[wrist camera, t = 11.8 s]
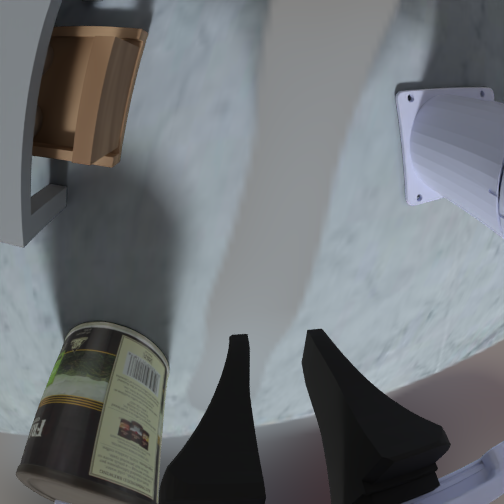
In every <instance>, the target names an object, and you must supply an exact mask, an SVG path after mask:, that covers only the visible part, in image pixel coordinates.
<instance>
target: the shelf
mask: <svg viewBox="0 0 504 504" xmlns="http://www.w3.org/2000/svg"><path fill="white" fill-rule="evenodd" d="M82 1H103V0H82ZM61 2H62V0H0V242H3V243H7V244H11V245H14V246H18V247H22V248H24V247H25V246H26V245H27V244H28V243H29V242H30V241H31V240H32V239H33V238H34V237H35V236H36V235H37V234H38V233H39V232H40V231H41V230H42V229H43V228H44V227H45V226H46V225H47V224H48V223H49V222H50V221H51V220H52V219H53V218H54V217H55V216H56V215H57V214H58V213H60V212H61V211H62V210H63V209H64V208H65V207H66V196H67V187H65V186H60V185H54V184H49V185H47V186H46V187H44V188H43V189H42V190H40V191H39V192H37V193H36V194H35V195H33V196H32V197H31V163H32V147H33V135H34V125H35V117H36V109H37V102H38V96H39V89H40V84H41V78H42V73H43V68H44V64H45V59H46V55H47V50H48V46H49V42H50V39H51V35H52V31H53V28H54V24H55V21H56V18H57V14H58V11H59V8H60V5H61Z"/></svg>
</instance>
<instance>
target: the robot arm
mask: <svg viewBox="0 0 504 504" xmlns="http://www.w3.org/2000/svg"><path fill="white" fill-rule="evenodd" d="M480 92H481V95H480ZM408 95H410V96H411V100H410V101H408ZM395 99H396V105H397V112H398V119H399V127H400V135H401V144H402V154H403V165H404V178H405V196H406V202H407V203H408V204H409V205H411V206H414V205H418V204H422V203H425V202H429V201H433V200H437V199H441V198H444V197H445V198H446V199H448V200H449V201H451V202H452V203H454V204H455V205H457V206H458V207H460V208H461V209H463V210H464V211H466V212H467V213H469V214H470V215H472V216H473V217H475V218H476V219H477V220H479V221H480V222H482V223H483V224H484V225H486V226H487V227H489V228H490V229H491V230H493V231H494V232H495V233H497V234H498V235H499V236H501V237H502V238H503V239H504V103H501V102H496V101H495V100H494V92H493V90H492V89H491V88H488V87H457V88H433V89H418V90H405V91H399V92H398V93H397V94H396V98H395ZM418 195H420V196H419V198H418V199H417V196H418ZM249 367H250V347H249V341H248V336H247V334H238V335H231V336H230V337H229V349H228V354H227V358H226V362H225V366H224V369H223V372H222V375H221V378H220V381H219V384H218V386H217V388H216V391H215V393H214V396H213V398H212V400H211V403H210V404H209V406H208V408H207V410H206V412H205V414H204V416H203V418H202V419H201V421H200V423H199V425H198V426H197V428H196V429H195V431H194V433H193V434H192V435H191V437H190V439H189V440H188V441H187V443H186V444H185V446H184V447H183V449H182V450H181V451H180V452H179V453H178V455H177V456H176V457H175V458H174V460H173V461H172V462H171V463H170V464H169V465H168V467H167V469H166V471H165V474H164V476H163V479H162V482H161V486H160V490H159V504H265V499H266V494H265V487H264V481H263V476H262V470H261V465H260V459H259V453H258V448H257V441H256V435H255V428H254V421H253V415H252V407H251V400H250V387H249V380H250V378H249V376H250V375H249V374H250V373H249V372H250V369H249ZM302 367H303V373H304V378H305V383H306V387H307V390H308V393H309V396H310V400H311V403H312V406H313V409H314V412H315V415H316V418H317V421H318V425H319V428H320V432H321V436H322V441H323V447H324V452H325V458H326V464H327V471H328V479H329V486H330V494H331V495H330V496H331V504H489V503H491V502H492V501H494V500H495V499H497V498H498V497H500V496H501V495H502V494H504V441H503V442H501V443H499V444H498V445H496V446H495V447H493V448H491V449H490V450H489V451H487V452H486V453H485V454H484V455H483V456H482V457H481V458H480V459H478V460H476V461H474V462H472V463H470V464H468V465H466V466H464V467H463V468H460V469H458V470H456V471H454V472H452V473H450V474H448V475H446V476H444V477H442V478H439V479H438V478H437V475H436V473H435V471H436V470H437V469H438V468H437V465H436V463H435V462H436V461H437V460H438V459H439V458H441V457H442V456H443V455H444V454H445V453H446V451H448V449H449V447H450V445H451V444H450V442H449V440H448V438H447V435H446V433H445V431H444V430H443V428H442V427H441V426H440V425H437V424H435V423H433V422H431V421H428V420H426V419H424V418H422V417H420V416H418V415H416V414H414V413H412V412H410V411H409V410H407V409H406V408H404V407H403V406H401V405H399V404H398V403H397V402H395V401H393V400H392V399H390V398H389V397H388V396H387V395H385V394H384V393H383V392H381V391H380V390H379V389H378V388H376V387H375V386H374V385H373V384H372V383H371V382H370V381H368V380H367V379H366V378H365V377H364V376H363V375H362V374H361V373H360V372H359V371H358V370H357V369H356V368H355V367H354V366H353V365H352V364H351V362H350V361H349V360H348V359H347V358H346V357H345V356H344V355H343V354H342V352H341V351H340V350H339V349H338V348H337V347H336V345H335V344H334V343H333V342H332V340H331V339H330V338H329V337H328V336H327V334H326V333H325V332H324V331H323V330H322V329H313V330H307V336H306V341H305V347H304V353H303V358H302ZM54 504H70V503H66V502H62V501H59V500H55V502H54Z"/></svg>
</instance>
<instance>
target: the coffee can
mask: <svg viewBox="0 0 504 504" xmlns="http://www.w3.org/2000/svg"><path fill="white" fill-rule="evenodd" d="M168 377H169V365H168V362H167V360H166V358H165V356H164V354H163V353H162V352H161V350H160V349H159V348H158V347H157V346H156V345H155V344H154V343H152V342H151V341H150V340H149V339H147V338H146V337H145V336H143V335H141V334H139V333H138V332H136V331H134V330H131V329H129V328H127V327H124V326H120V325H117V324H114V323H108V322H87V323H83V324H80V325H78V326H76V327H74V328H73V329H72V330H71V331H70V332H69V333H68V334H67V336H66V338H65V341H64V344H63V347H62V349H61V352H60V354H59V356H58V359H57V361H56V363H55V366H54V368H53V371H52V373H51V376H50V378H49V381H48V383H47V386H46V388H45V391H44V394H43V396H42V399H41V402H40V404H39V407H38V410H37V412H36V416H35V418H34V421H33V424H32V427H31V430H30V433H29V437H28V440H27V443H26V446H25V450H24V453H23V456H22V460H21V464H20V465H19V466H18V469H17V472H16V476H17V478H18V479H19V480H20V481H21V482H22V483H23V484H24V485H26V486H27V487H28V488H30V489H31V490H33V491H34V492H36V493H38V494H39V495H41V496H43V497H45V498H47V499H49V500H51V501H53V502H55V500H59V501H62V502H66V503H70V504H158V491H159V490H158V489H159V472H160V454H161V441H162V430H163V417H164V406H165V396H166V387H167V380H168Z"/></svg>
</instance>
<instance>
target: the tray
mask: <svg viewBox="0 0 504 504" xmlns="http://www.w3.org/2000/svg"><path fill="white" fill-rule="evenodd" d="M147 36H148V33H147V32H146V31H144V30H143V29H136V28H123V27H104V26H61V27H54V28H53V31H52V35H51V39H50V42H49V46H48V50H47V55H46V59H45V64H44V68H43V73H42V78H41V84H40V89H39V96H38V102H37V109H36V117H35V125H34V135H33V147H32V156H39V157H46V158H53V159H60V160H67V161H72V163H79V164H85V165H91V164H92V165H99V166H105V167H110V168H112V167H114V166H115V165H116V164H118V163H119V162H120V157H121V150H122V144H123V138H124V133H125V127H126V122H127V117H128V112H129V107H130V102H131V98H132V93H133V89H134V85H135V80H136V76H137V72H138V68H139V65H140V61H141V57H142V53H143V50H144V46H145V43H146V39H147Z"/></svg>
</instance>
